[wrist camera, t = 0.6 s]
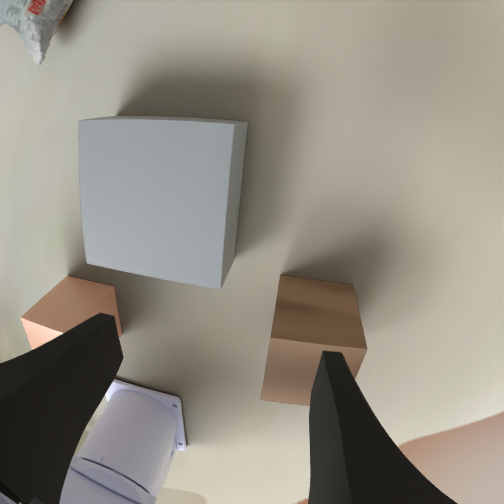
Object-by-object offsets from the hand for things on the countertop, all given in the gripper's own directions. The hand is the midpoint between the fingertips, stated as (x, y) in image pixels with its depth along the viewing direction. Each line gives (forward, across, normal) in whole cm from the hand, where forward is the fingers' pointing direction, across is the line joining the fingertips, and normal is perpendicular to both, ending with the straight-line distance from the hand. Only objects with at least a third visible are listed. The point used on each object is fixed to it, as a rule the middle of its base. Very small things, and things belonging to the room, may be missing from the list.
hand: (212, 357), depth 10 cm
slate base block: (+10, +5, -3) cm, 11 cm away
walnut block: (+10, -4, +4) cm, 11 cm away
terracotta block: (+10, +12, +7) cm, 17 cm away
